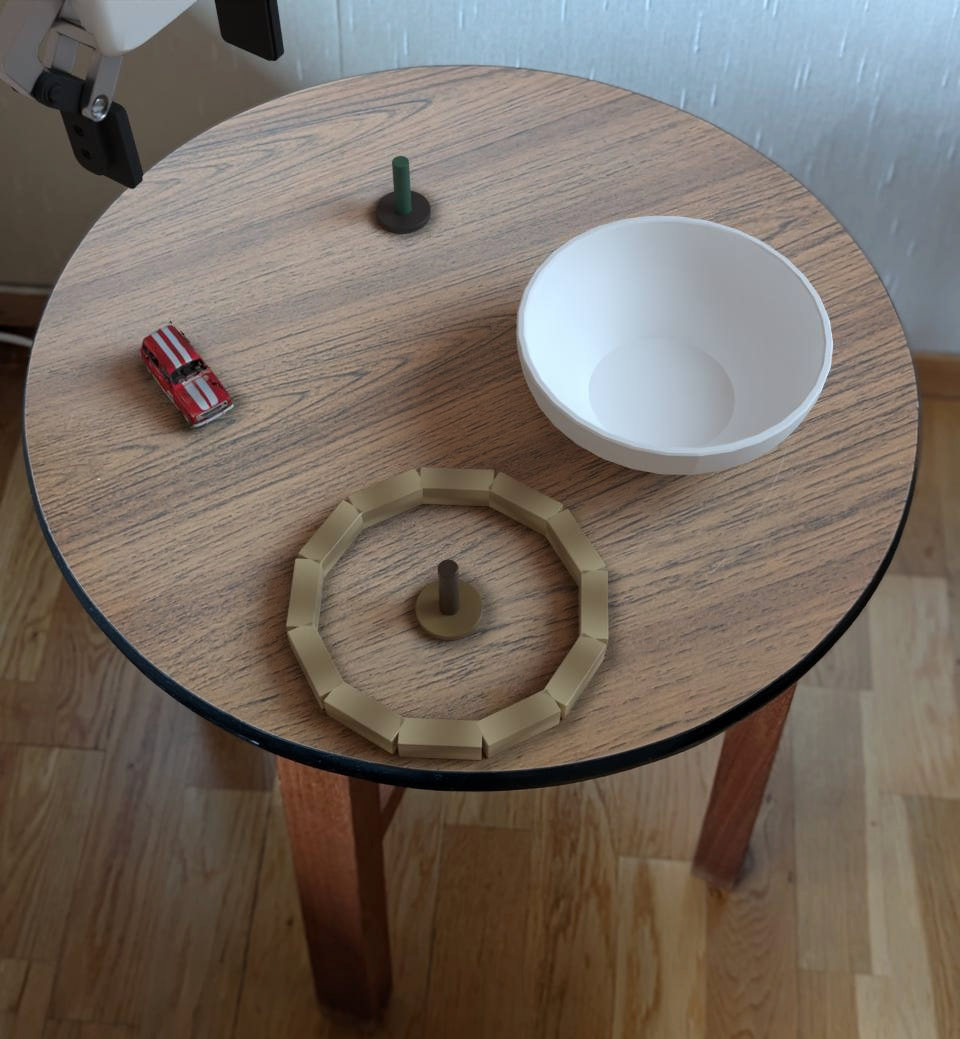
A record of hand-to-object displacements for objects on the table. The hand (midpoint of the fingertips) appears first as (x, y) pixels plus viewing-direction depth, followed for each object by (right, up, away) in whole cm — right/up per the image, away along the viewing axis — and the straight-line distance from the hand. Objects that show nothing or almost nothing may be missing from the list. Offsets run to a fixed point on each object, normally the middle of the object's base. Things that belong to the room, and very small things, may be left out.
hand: (185, 108), depth 59 cm
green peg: (+7, +4, +39) cm, 40 cm away
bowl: (+25, -10, +30) cm, 40 cm away
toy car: (-6, -9, +30) cm, 32 cm away
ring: (+11, -24, +21) cm, 33 cm away
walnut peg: (+11, -24, +21) cm, 33 cm away
